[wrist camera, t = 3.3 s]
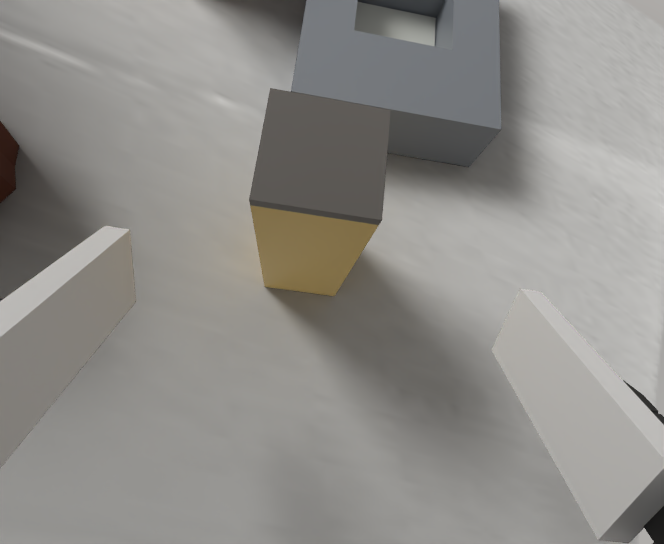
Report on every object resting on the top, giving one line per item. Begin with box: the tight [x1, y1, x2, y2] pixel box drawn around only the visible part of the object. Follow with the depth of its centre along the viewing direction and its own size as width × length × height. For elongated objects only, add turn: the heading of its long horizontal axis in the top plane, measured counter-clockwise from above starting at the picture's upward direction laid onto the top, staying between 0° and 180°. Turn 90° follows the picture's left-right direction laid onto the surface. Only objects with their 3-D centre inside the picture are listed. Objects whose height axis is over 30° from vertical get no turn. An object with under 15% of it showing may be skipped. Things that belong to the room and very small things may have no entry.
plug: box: [249, 88, 391, 296], centre depth 17 cm, size 4×4×11 cm
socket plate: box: [291, 0, 501, 167], centre depth 26 cm, size 12×16×4 cm
